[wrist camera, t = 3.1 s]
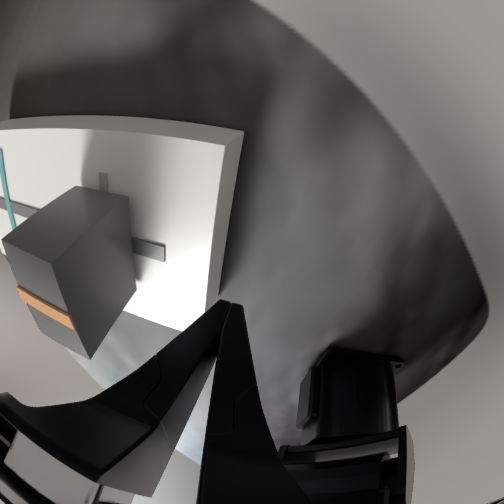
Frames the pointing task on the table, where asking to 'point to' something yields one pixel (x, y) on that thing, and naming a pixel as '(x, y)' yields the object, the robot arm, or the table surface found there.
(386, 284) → the table surface
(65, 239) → the fader
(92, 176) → the console
